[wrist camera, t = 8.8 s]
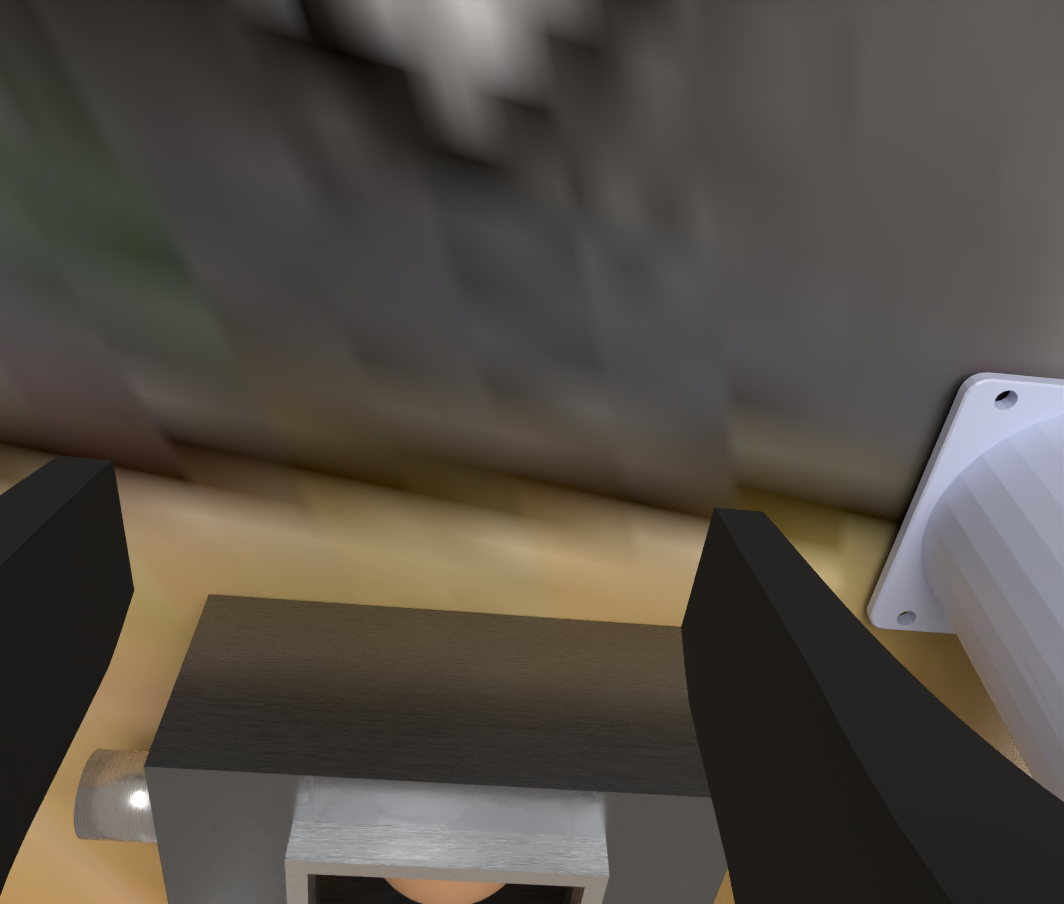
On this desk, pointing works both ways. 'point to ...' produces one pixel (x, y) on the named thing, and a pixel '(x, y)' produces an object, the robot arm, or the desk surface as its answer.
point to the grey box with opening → (416, 761)
